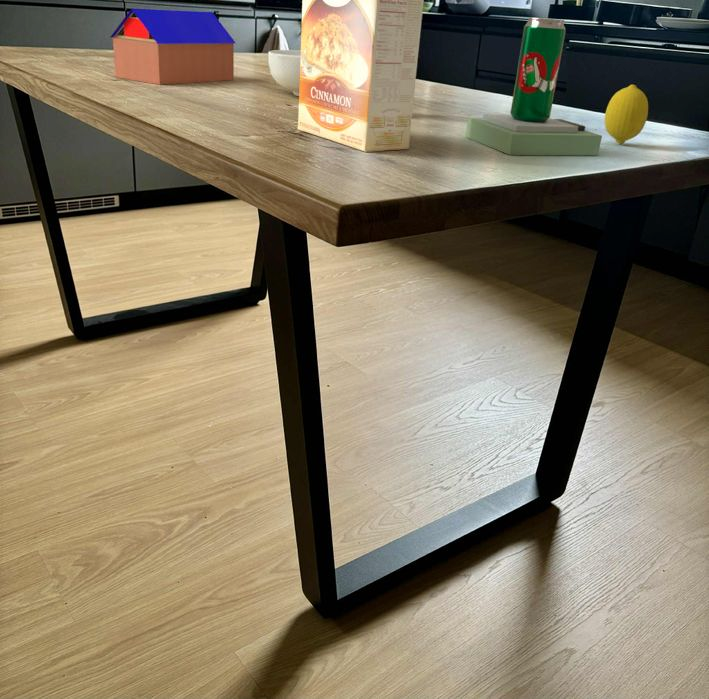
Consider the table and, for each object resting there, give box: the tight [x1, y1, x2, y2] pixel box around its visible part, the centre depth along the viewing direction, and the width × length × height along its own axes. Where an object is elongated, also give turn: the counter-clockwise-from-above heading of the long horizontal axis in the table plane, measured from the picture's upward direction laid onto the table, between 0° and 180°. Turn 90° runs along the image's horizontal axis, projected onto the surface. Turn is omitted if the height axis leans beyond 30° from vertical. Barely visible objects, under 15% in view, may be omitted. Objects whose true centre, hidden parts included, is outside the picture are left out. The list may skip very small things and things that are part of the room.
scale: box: [465, 113, 603, 156], centre depth 94 cm, size 13×12×3 cm
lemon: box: [604, 84, 649, 145], centre depth 100 cm, size 6×6×8 cm
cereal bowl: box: [267, 49, 301, 97], centre depth 125 cm, size 17×17×7 cm
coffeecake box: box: [297, 0, 425, 153], centre depth 85 cm, size 15×7×20 cm, turn 36°
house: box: [110, 8, 236, 86], centre depth 133 cm, size 12×20×12 cm, turn 147°
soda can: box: [510, 17, 567, 122], centre depth 90 cm, size 5×5×12 cm
